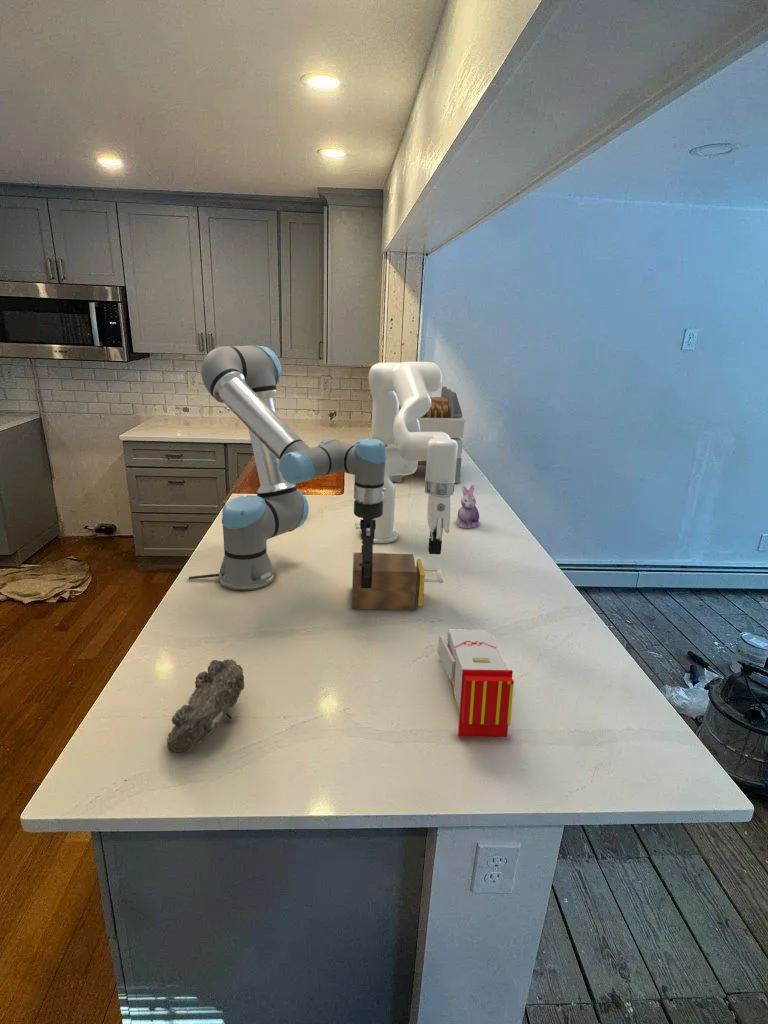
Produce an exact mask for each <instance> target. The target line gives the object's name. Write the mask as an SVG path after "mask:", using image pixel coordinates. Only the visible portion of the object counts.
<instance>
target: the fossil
mask: <svg viewBox="0 0 768 1024" xmlns="http://www.w3.org/2000/svg"><path fill="white" fill-rule="evenodd" d="M243 670H244V669H243V667H242V665H240V664H237V662H236V661H235V660H234V659H232V658H231V659H227V658H226V659H224V660H223V661H222V660H217V659H212V660H211V661H210V663H209V665H208V666H207V671H201V672H199V673H198V674H197V675H196V676H195V680H194V684H195V685H194V687H195V689H194V690H193V693H192V694H191V697H190V698H189V700H188V704H184V705H182V706H181V707H180V709H177V710H176V711H175V713H174V715H173V716H172V718H171V723H172V724H173V727H172V730H171V731H170V732H168V734H167V738H166V741H167V742H166V745H167V749H168V750H169V751H173V752H174V753H176V754H178V753H182V752H188V751H189V752H192V751H193V750H195V748H196V747H197V746H199V744H200V743H201V742H203V741H204V740H205V739H206V738H207V737H208V736H209V735H210V734H211V733H212V732H214V730H215V729H217V727H218V726H219V724H220V722H221V721H222V720H223V719H224V718H225V716H226V717H227V719H229V720H233V717H232V715H230V714H229V710H230V709H231V708H234V706H235V704H236V703H237V702H238V699H239V697H240V695H241V693H242V691H243V690H245V689H244V688H245V675H244V671H243Z"/></svg>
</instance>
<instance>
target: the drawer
mask: <svg viewBox="0 0 768 1024" xmlns="http://www.w3.org/2000/svg"><path fill="white" fill-rule="evenodd" d="M415 565H416V570H417V577H416V591H415V598H416V602H417V606H420V607H421V606H423V605H424V593H425V583H439V584H440V585H441V584H442V585H443V584H444V578H443V574H442V571H441V569H440V568H441V567H438V566H437V567H435V568H425V567H424V566H423V561H422V558H416V562H415ZM425 572H435V574H436V578H426V575H425V574H426V573H425Z"/></svg>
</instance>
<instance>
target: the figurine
mask: <svg viewBox="0 0 768 1024" xmlns="http://www.w3.org/2000/svg"><path fill="white" fill-rule="evenodd" d="M474 490H475V485H474V484H472V485H471V486H470V487H469V489H468V488H467V487H466V485H462V497H461V500H460V503H461V507H460V508H459V509H458V510H457V519H456V524H457V525H458V526H459V528H462V529H463V528H464V529H472V528H475V527H477V526H478V525H479V520H480V513H479V509H478V508H477V506H476V504H477V500H476V497H475V495H474V492H475V491H474Z"/></svg>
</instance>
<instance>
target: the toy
mask: <svg viewBox="0 0 768 1024" xmlns="http://www.w3.org/2000/svg"><path fill="white" fill-rule="evenodd" d="M446 640H447V643H446V641H445V639H444V636H443V635H442V634H439V637H438V646H437V656H438V657H439V659H440V661H441V663H442V666H443V668H444V670H445V672H446V674H447V677H448V679H449V681H450V684H451V687H452V690H453V693H454V697H455V701H456V705H457V708H458V711H459V714H458V715H459V716H458V730H457V731H458V732H457V737H458V738H508V731H509V726H510V725H511V717H512V707H513V697H514V696H513V695H514V684H515V680H514V679H513V673H514V671H513V670H512V669H508V667H507V665H506V662H505V661H504V659H503V658H502V655H501V653H500V651H499V649H498V647H497V643H496V639H495V637H494V635H493V634H491V632H490V631H489V629H467V628H466V629H465V628H463V629H461V628H460V629H459V628H448V630H447V639H446Z"/></svg>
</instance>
